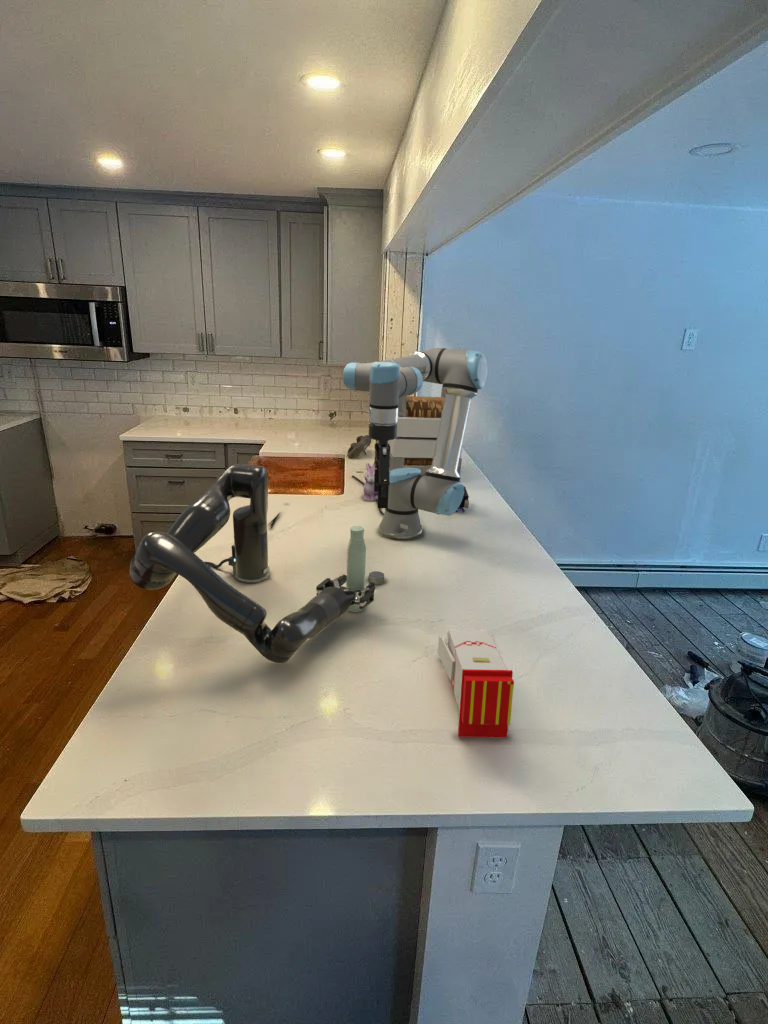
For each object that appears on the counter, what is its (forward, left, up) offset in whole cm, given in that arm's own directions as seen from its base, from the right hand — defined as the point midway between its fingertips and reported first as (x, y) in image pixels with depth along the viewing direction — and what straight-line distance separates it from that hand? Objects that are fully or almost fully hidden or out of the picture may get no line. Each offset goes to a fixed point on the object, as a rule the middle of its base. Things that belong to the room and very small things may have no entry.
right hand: (380, 499), depth 156 cm
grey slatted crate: (-76, +91, -25) cm, 121 cm away
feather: (-62, +4, -25) cm, 67 cm away
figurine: (-59, +47, -25) cm, 80 cm away
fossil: (-120, +88, -25) cm, 151 cm away
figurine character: (-30, +68, -25) cm, 79 cm away
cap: (0, 0, -23) cm, 23 cm away
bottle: (+8, -15, -25) cm, 30 cm away
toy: (+51, -17, -25) cm, 59 cm away
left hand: (+8, -13, -18) cm, 24 cm away
